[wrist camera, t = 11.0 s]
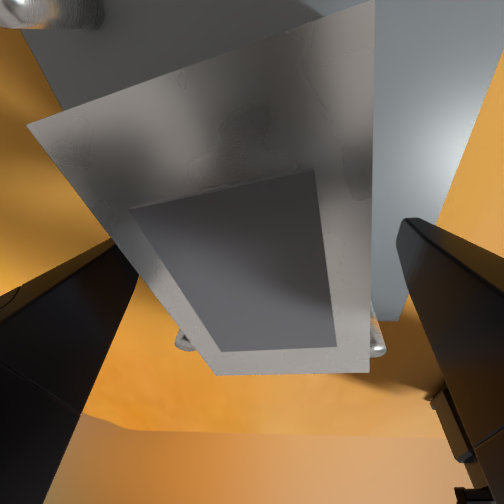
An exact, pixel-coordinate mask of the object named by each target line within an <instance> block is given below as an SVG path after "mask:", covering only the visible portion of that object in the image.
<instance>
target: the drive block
mask: <svg viewBox="0 0 504 504" xmlns="http://www.w3.org/2000/svg"><path fill="white" fill-rule="evenodd" d="M374 35H375V0H369V1H367V2H364V3H361V4H358V5H356V6H353V7H350V8H347V9H345V10H342V11H339V12H336V13H333V14H331V15H328V16H325V17H322V18H320V19H317V20H314V21H311V22H309V23H306V24H303V25H300V26H298V27H295V28H292V29H289V30H287V31H284V32H281V33H278V34H275V35H273V36H270V37H267V38H264V39H262V40H259V41H256V42H253V43H251V44H248V45H245V46H242V47H240V48H237V49H234V50H231V51H228V52H226V53H223V54H220V55H217V56H215V57H212V58H209V59H206V60H204V61H201V62H198V63H195V64H193V65H190V66H187V67H184V68H181V69H179V70H176V71H173V72H170V73H168V74H165V75H162V76H159V77H157V78H154V79H151V80H148V81H146V82H143V83H140V84H137V85H134V86H132V87H129V88H126V89H123V90H121V91H118V92H115V93H112V94H110V95H107V96H104V97H101V98H99V99H96V100H93V101H90V102H87V103H85V104H82V105H79V106H76V107H74V108H71V109H68V110H65V111H63V112H60V113H57V114H54V115H52V116H49V117H46V118H43V119H41V120H38V121H35V122H32V123H29V124H27V125H26V126H27V128H28V129H29V130H30V132H31V133H32V134H33V136H34V137H35V138H36V139H37V141H38V142H39V143H40V145H41V146H42V147H43V149H44V150H45V151H46V153H47V154H48V155H49V157H50V158H51V159H52V161H53V162H54V163H55V164H56V166H57V167H58V168H59V170H60V171H61V172H62V174H63V175H64V176H65V178H66V179H67V180H68V182H69V183H70V184H71V186H72V187H73V188H74V189H75V191H76V192H77V193H78V195H79V196H80V197H81V199H82V200H83V201H84V203H85V204H86V205H87V207H88V208H89V209H90V211H91V212H92V213H93V214H94V216H95V217H96V218H97V220H98V221H99V222H100V224H101V225H102V226H103V228H104V229H105V230H106V232H107V233H108V234H109V235H110V237H111V238H112V239H113V241H114V242H115V243H116V245H117V246H118V247H119V249H120V250H121V251H122V253H123V254H124V255H125V257H126V258H127V259H128V260H129V262H130V263H131V264H132V266H133V267H134V268H135V270H136V271H137V272H138V274H139V275H140V276H141V278H142V279H143V280H144V282H145V283H146V284H147V285H148V287H149V288H150V289H151V291H152V292H153V293H154V295H155V296H156V297H157V299H158V300H159V301H160V303H161V304H162V305H163V307H164V308H165V309H166V310H167V312H168V313H169V314H170V316H171V317H172V318H173V320H174V321H175V322H176V324H177V325H178V326H179V328H180V329H181V330H182V332H183V333H184V334H185V335H186V337H187V338H188V339H189V341H190V342H191V343H192V345H193V346H194V347H195V349H196V350H197V351H198V353H199V354H200V355H201V357H202V358H203V359H204V360H205V362H206V363H207V364H208V366H209V367H210V368H211V370H212V371H213V372H214V374H215V375H216V376H220V375H271V374H322V373H369V368H370V302H371V235H372V168H373V102H374Z"/></svg>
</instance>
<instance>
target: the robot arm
mask: <svg viewBox="0 0 504 504" xmlns="http://www.w3.org/2000/svg"><path fill="white" fill-rule="evenodd" d="M396 249H397V252H398V256H399V260H400V264H401V268H402V271H403V275H404V279H405V282H406V286H407V289H408V291H409V294H410V296H411V299H412V301H413V304H414V306H415V308H416V311H417V313H418V316H419V318H420V321H421V323H422V325H423V328H424V330H425V333H426V335H427V337H428V340H429V342H430V345H431V347H432V350H433V352H434V354H435V357H436V359H437V362H438V364H439V367H440V369H441V371H442V374H443V376H444V379H445V381H446V383H445V384H444V385H443V387H442V388H441V389H440V391H439V392H438V393H437V394H436V396H435V397H434V398H433V400H432V401H431V402H430V405H431V407H432V409H434V410H436V412H437V415H438V417H439V420H440V422H441V425H442V428H443V430H444V433H445V435H446V438H447V440H448V443H449V445H450V448H451V450H452V453H453V455H454V458H455V459H456V460H457V461H458V462H459V463H464V465H465V468H466V470H467V472H468V475H469V477H470V480H471V482H472V484H473V487H474V489H465V488H464V487H455V488H454V490H455V495H456V498H457V504H504V258H502V257H500V256H498V255H496V254H494V253H492V252H490V251H488V250H486V249H484V248H481V247H479V246H477V245H475V244H473V243H471V242H469V241H467V240H465V239H463V238H460V237H458V236H456V235H454V234H452V233H450V232H448V231H446V230H444V229H442V228H440V227H437V226H435V225H433V224H431V223H429V222H427V221H425V220H423V219H421V218H418V217H414V218H404V219H403V220H402V221H401V224H400V228H399V231H398V235H397V238H396ZM138 277H139V274H138V272H137V271H136V270H135V268H134V267H133V266H132V264H131V263H130V262H129V260H128V259H127V258H126V257H125V255H124V254H123V253H122V251H121V250H120V249H119V247H118V246H117V245H116V243H115V242H114V241H113V239H112V238H110V239H108V240H106V241H104V242H102V243H101V244H99V245H97V246H95V247H93V248H91V249H89V250H87V251H85V252H84V253H82V254H80V255H78V256H76V257H74V258H72V259H70V260H68V261H66V262H65V263H63V264H61V265H59V266H57V267H55V268H53V269H51V270H49V271H47V272H46V273H44V274H42V275H40V276H38V277H36V278H34V279H32V280H30V281H28V282H27V283H25V284H23V285H22V286H19V287H17V288H15V289H13V290H11V291H9V292H8V293H6V294H4V295H2V296H0V504H43V502H44V500H45V498H46V495H47V492H48V491H49V488H50V486H51V484H52V481H53V479H54V476H55V474H56V472H57V470H58V467H59V465H60V463H61V460H62V458H63V455H64V453H65V451H66V449H67V446H68V444H69V442H70V439H71V437H72V434H73V432H74V430H75V427H76V425H77V423H78V421H79V418H80V414H81V413H82V411H83V408H84V406H85V404H86V402H87V399H88V397H89V395H90V392H91V390H92V388H93V385H94V383H95V381H96V378H97V376H98V374H99V371H100V369H101V367H102V364H103V362H104V360H105V357H106V355H107V353H108V350H109V348H110V346H111V343H112V341H113V339H114V336H115V334H116V332H117V329H118V327H119V325H120V322H121V320H122V318H123V315H124V313H125V311H126V308H127V306H128V304H129V301H130V299H131V297H132V294H133V292H134V289H135V286H136V283H137V280H138Z"/></svg>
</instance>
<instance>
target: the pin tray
mask: <svg viewBox="0 0 504 504" xmlns="http://www.w3.org/2000/svg"><path fill="white" fill-rule="evenodd" d="M367 1H369V0H0V26H1V27H4V28H11V29H20V30H21V32H22V34H23V36H24V38H25V40H26V42H27V44H28V45H29V47H30V49H31V51H32V53H33V55H34V57H35V59H36V61H37V62H38V64H39V66H40V68H41V70H42V72H43V74H44V76H45V77H46V79H47V81H48V83H49V85H50V87H51V89H52V91H53V92H54V94H55V96H56V98H57V100H58V102H59V104H60V106H61V107H62V109H63V111H65V110H68V109H71V108H74V107H76V106H79V105H82V104H85V103H87V102H90V101H93V100H96V99H99V98H101V97H104V96H107V95H110V94H112V93H115V92H118V91H121V90H123V89H126V88H129V87H132V86H134V85H137V84H140V83H143V82H146V81H148V80H151V79H154V78H157V77H159V76H162V75H165V74H168V73H170V72H173V71H176V70H179V69H181V68H184V67H187V66H190V65H193V64H195V63H198V62H201V61H204V60H206V59H209V58H212V57H215V56H217V55H220V54H223V53H226V52H228V51H231V50H234V49H237V48H240V47H242V46H245V45H248V44H251V43H253V42H256V41H259V40H262V39H264V38H267V37H270V36H273V35H275V34H278V33H281V32H284V31H287V30H289V29H292V28H295V27H298V26H300V25H303V24H306V23H309V22H311V21H314V20H317V19H320V18H322V17H325V16H328V15H331V14H333V13H336V12H339V11H342V10H345V9H347V8H350V7H353V6H356V5H358V4H361V3H364V2H367ZM503 49H504V0H375V35H374V102H373V168H372V235H371V302H370V358H374V357H379V356H382V355H384V354H385V353H386V352H387V349H386V346H385V342H384V339H383V336H382V333H381V330H380V327H379V323H378V321H398V320H399V317H400V315H401V312H402V310H403V307H404V304H405V302H406V299H407V297H408V294H409V291H408V289H407V286H406V282H405V279H404V275H403V271H402V268H401V264H400V260H399V256H398V252H397V249H396V238H397V235H398V231H399V228H400V224H401V221H402V220H403V219H404V218H414V217H418V218H421V219H423V220H425V221H427V222H429V223H431V224H433V225H436V222H437V219H438V217H439V214H440V212H441V209H442V206H443V204H444V201H445V199H446V196H447V194H448V191H449V188H450V186H451V183H452V181H453V178H454V175H455V173H456V170H457V168H458V165H459V163H460V160H461V157H462V155H463V152H464V150H465V147H466V145H467V142H468V139H469V137H470V134H471V132H472V129H473V126H474V124H475V121H476V119H477V116H478V114H479V111H480V108H481V106H482V103H483V101H484V98H485V96H486V93H487V90H488V88H489V85H490V83H491V80H492V77H493V75H494V72H495V70H496V67H497V65H498V62H499V59H500V57H501V54H502V52H503ZM175 346H176V347H177V348H179V349H181V350H184V351H194V350H196V349H195V347H194V346H193V345H192V343H191V342H190V341H189V339H188V338H187V337H186V335H185V334H184V333H183V332H182V330H181V329H179V332H178V334H177V337H176V340H175Z"/></svg>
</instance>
